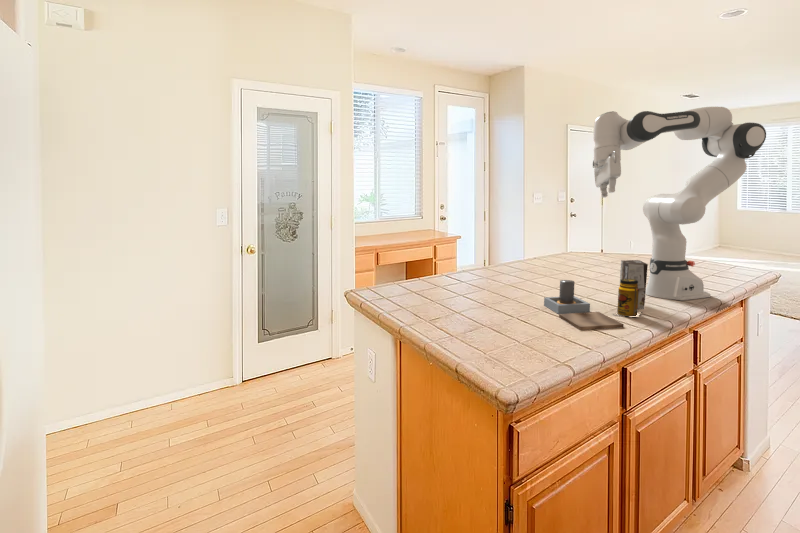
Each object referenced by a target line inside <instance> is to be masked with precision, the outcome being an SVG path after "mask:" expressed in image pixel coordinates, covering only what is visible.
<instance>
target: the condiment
mask: <svg viewBox="0 0 800 533" xmlns="http://www.w3.org/2000/svg"><path fill="white" fill-rule="evenodd" d="M617 294H618V296H617V308H616V309H617V311H616V312H615V313H614V314H613V315H614V316H619V315H621V316H619V317H623V316H636V315H637V312H638V310H639V309H638V295H639V289H638V280H635V279H621V281H620V280H619V287H618V293H617ZM640 312H641V313H642V314H643V313H644V312H643V311H640ZM616 313H617V314H618V315H616ZM642 314H640V316H641V315H642Z"/></svg>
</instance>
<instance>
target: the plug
mask: <svg viewBox="0 0 800 533" xmlns="http://www.w3.org/2000/svg"><path fill="white" fill-rule="evenodd" d="M574 296H575V281H574V280H571V279H570V280H569V279H561V280H559V296H558V297H559V301H557V303H558V304H576V302H574Z"/></svg>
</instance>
